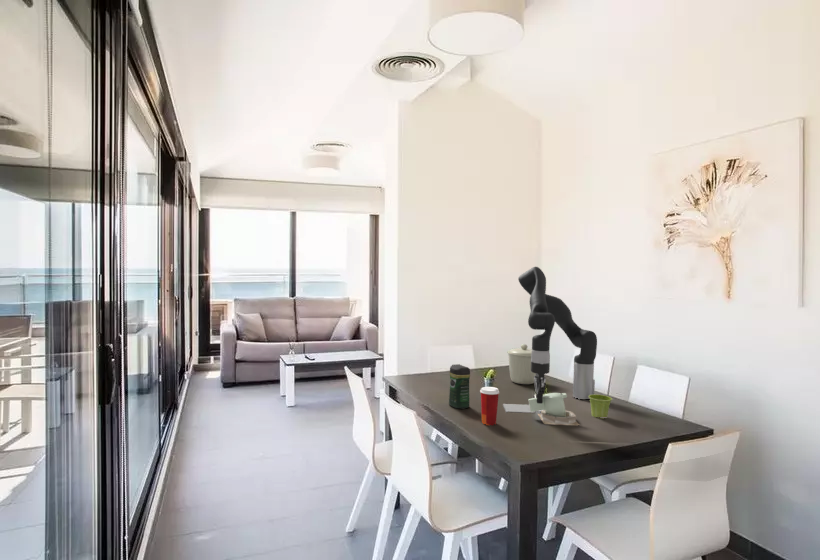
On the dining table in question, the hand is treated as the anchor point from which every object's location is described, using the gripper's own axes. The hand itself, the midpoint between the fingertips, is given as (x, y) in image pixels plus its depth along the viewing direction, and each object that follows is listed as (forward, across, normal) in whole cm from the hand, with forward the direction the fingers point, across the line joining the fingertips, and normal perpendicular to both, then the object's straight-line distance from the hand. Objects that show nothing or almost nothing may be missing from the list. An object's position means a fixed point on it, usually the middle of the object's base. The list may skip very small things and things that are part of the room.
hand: (539, 402), depth 206 cm
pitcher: (+6, 0, +5) cm, 8 cm away
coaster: (+7, -14, -6) cm, 17 cm away
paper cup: (+7, +8, -21) cm, 24 cm away
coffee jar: (+8, -15, -32) cm, 37 cm away
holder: (+7, 0, +8) cm, 11 cm away
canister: (+8, -68, +4) cm, 68 cm away
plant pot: (+8, -7, +27) cm, 29 cm away
